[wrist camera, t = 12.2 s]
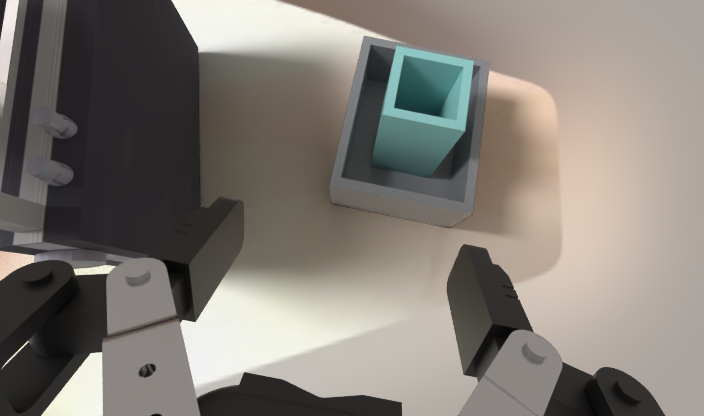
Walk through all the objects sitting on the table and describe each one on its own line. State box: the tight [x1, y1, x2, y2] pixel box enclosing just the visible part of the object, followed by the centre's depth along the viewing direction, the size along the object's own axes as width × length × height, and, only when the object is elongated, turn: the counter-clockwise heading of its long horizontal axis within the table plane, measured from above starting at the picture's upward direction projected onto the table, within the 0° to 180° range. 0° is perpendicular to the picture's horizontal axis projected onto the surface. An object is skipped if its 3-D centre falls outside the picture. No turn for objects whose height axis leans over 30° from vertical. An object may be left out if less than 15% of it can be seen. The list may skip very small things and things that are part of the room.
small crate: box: [370, 46, 474, 178], centre depth 30 cm, size 6×6×10 cm
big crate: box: [329, 36, 490, 228], centre depth 32 cm, size 15×12×6 cm
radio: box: [0, 0, 200, 269], centre depth 24 cm, size 24×5×20 cm, turn 7°
